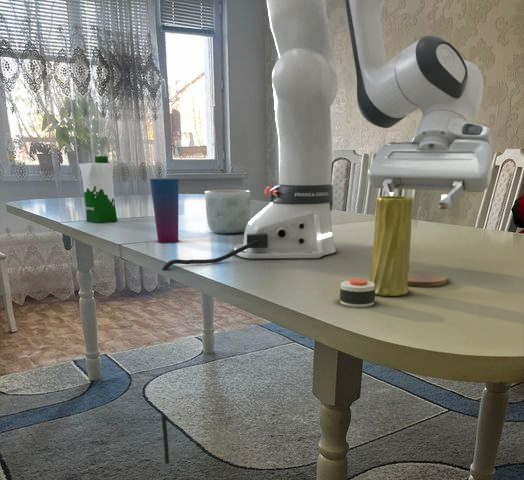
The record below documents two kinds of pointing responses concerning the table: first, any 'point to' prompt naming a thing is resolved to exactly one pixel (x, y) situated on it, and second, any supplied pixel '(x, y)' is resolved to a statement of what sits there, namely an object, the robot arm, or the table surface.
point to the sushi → (357, 293)
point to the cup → (165, 208)
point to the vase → (391, 245)
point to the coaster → (426, 279)
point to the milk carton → (99, 190)
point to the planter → (228, 210)
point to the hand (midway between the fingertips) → (415, 205)
